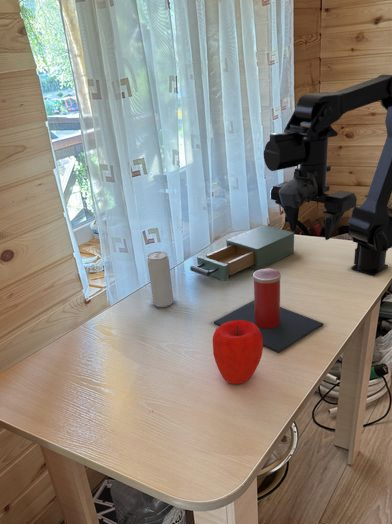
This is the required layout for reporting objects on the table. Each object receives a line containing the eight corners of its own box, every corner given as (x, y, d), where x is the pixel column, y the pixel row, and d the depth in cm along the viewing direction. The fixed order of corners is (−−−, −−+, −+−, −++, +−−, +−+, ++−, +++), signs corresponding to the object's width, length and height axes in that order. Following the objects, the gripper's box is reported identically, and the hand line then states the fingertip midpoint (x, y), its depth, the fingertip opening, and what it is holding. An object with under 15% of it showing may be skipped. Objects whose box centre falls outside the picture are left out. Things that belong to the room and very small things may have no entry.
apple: (262, 394, 88) (261, 340, 82) (211, 392, 90) (207, 339, 84) (264, 365, 95) (264, 314, 90) (218, 364, 97) (214, 313, 91)
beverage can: (177, 300, 121) (171, 252, 115) (167, 309, 117) (161, 260, 111) (159, 297, 123) (153, 250, 117) (149, 306, 119) (142, 258, 113)
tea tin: (277, 315, 110) (278, 267, 104) (282, 327, 105) (282, 278, 100) (252, 317, 110) (251, 269, 104) (256, 329, 106) (255, 280, 100)
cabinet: (257, 269, 132) (257, 249, 129) (227, 259, 139) (226, 240, 136) (293, 252, 140) (294, 232, 137) (263, 243, 147) (262, 224, 144)
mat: (323, 325, 106) (323, 323, 106) (278, 353, 98) (278, 351, 98) (257, 300, 118) (257, 298, 117) (213, 323, 110) (213, 321, 110)
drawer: (212, 286, 124) (211, 272, 122) (185, 276, 130) (184, 262, 128) (261, 263, 133) (261, 249, 131) (234, 254, 140) (233, 241, 138)
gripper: (252, 165, 108) (254, 237, 116) (327, 176, 95) (323, 256, 104) (287, 154, 114) (286, 223, 122) (361, 164, 101) (354, 239, 110)
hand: (310, 235), depth 114 cm, fingers open, 9 cm apart
